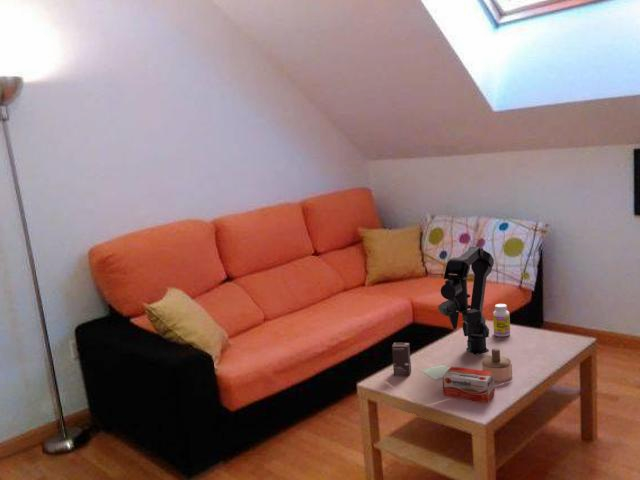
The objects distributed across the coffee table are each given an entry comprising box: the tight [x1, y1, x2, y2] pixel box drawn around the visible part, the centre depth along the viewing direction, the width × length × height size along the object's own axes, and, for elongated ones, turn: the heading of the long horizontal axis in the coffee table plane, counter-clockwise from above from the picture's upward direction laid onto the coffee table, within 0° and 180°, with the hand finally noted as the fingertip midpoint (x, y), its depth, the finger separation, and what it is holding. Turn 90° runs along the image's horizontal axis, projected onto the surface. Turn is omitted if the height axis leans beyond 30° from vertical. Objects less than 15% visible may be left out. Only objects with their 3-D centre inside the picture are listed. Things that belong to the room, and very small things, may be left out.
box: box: [391, 341, 412, 377], centre depth 217 cm, size 6×4×12 cm
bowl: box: [481, 362, 513, 382], centre depth 209 cm, size 10×10×5 cm
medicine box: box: [442, 366, 496, 404], centre depth 196 cm, size 15×8×8 cm, turn 58°
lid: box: [481, 348, 512, 368], centre depth 208 cm, size 10×10×5 cm
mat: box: [420, 364, 451, 380], centre depth 217 cm, size 10×10×1 cm
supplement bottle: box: [492, 303, 511, 338], centre depth 248 cm, size 7×7×13 cm
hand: (461, 332), depth 221 cm, fingers open, 9 cm apart
